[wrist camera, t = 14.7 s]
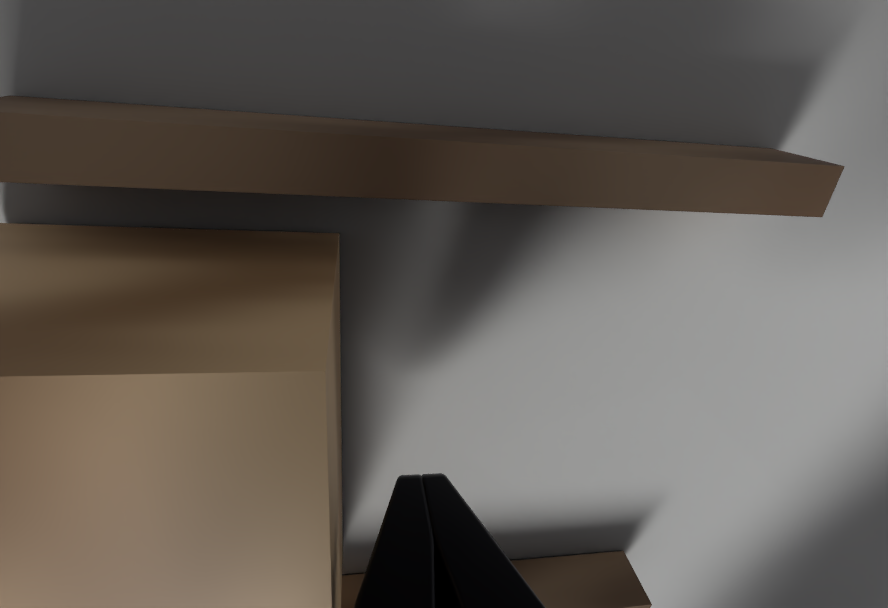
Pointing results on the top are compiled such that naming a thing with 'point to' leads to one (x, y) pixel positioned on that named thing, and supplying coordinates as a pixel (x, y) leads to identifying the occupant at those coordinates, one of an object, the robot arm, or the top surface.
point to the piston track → (414, 178)
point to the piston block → (169, 418)
